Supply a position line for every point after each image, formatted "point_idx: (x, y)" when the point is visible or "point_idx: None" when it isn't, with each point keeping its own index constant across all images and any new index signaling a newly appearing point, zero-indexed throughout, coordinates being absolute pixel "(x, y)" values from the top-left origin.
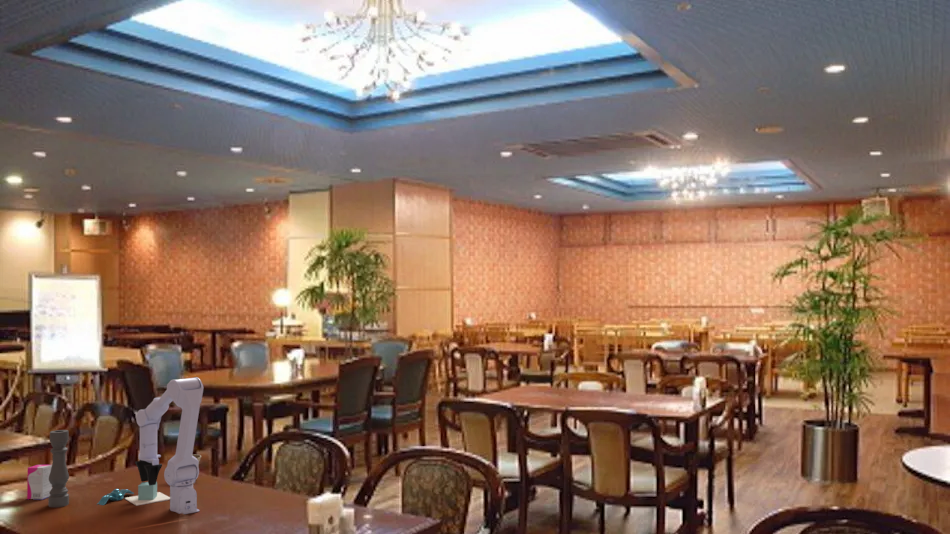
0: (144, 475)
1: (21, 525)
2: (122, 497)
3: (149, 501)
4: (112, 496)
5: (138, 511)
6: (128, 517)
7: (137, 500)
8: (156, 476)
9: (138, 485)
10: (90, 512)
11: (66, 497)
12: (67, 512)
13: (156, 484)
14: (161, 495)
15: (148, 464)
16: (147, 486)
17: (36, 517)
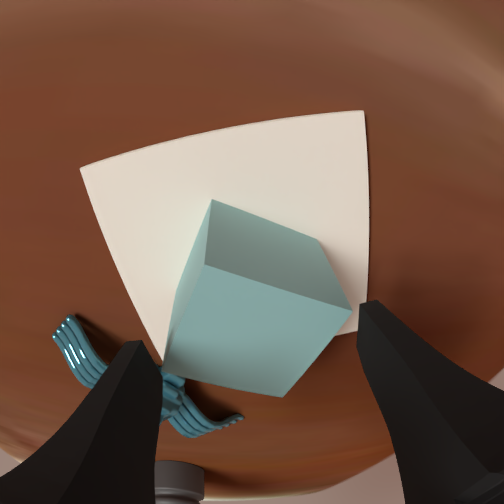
0: (141, 409)
1: (332, 484)
2: (180, 377)
3: (350, 266)
4: (203, 418)
5: (457, 315)
6: (486, 339)
7: None
8: (428, 356)
9: (278, 396)
10: (329, 432)
11: (192, 487)
12: (279, 462)
13: (234, 259)
14: (213, 165)
15: (94, 500)
16: (319, 342)
17: (282, 484)
